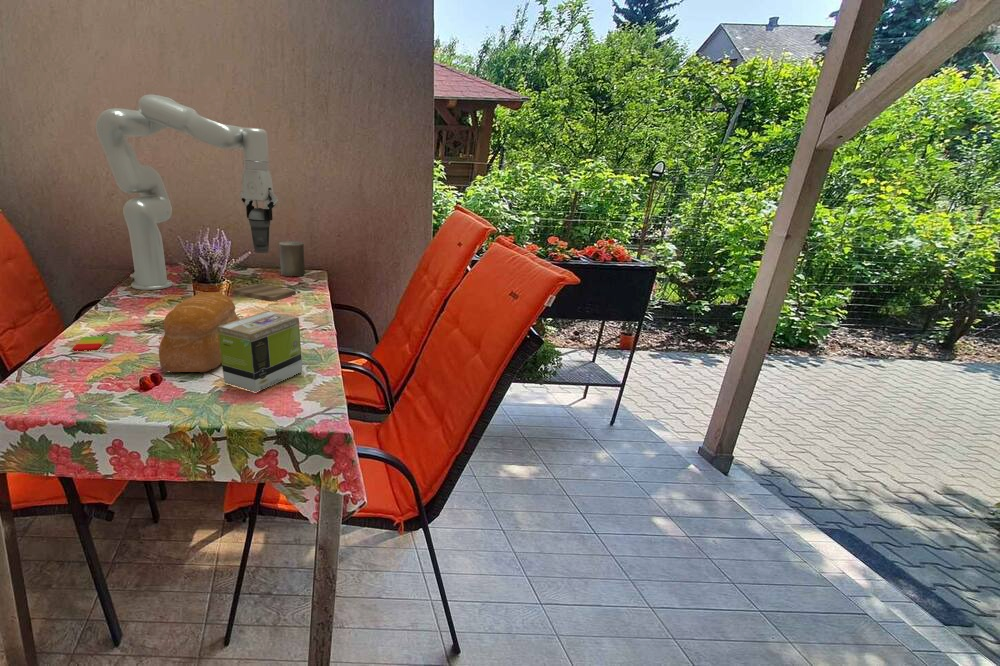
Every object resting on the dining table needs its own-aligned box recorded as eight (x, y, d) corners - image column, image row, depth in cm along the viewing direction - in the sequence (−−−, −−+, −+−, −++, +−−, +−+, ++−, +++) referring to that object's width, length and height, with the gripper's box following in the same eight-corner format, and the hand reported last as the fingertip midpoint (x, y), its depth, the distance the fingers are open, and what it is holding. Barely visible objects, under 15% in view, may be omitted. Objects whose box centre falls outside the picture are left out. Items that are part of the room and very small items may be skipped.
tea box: (272, 364, 135) (268, 309, 130) (303, 373, 132) (301, 316, 127) (222, 385, 122) (216, 324, 117) (255, 395, 118) (251, 332, 114)
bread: (247, 339, 151) (243, 287, 146) (215, 375, 127) (210, 315, 122) (196, 338, 149) (191, 285, 144) (153, 374, 124) (145, 313, 119)
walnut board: (232, 293, 192) (232, 289, 192) (257, 287, 203) (256, 283, 203) (272, 301, 187) (272, 297, 187) (295, 294, 198) (295, 290, 198)
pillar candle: (309, 276, 227) (307, 241, 223) (287, 278, 220) (285, 242, 216) (298, 271, 234) (296, 237, 229) (276, 273, 227) (274, 238, 222)
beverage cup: (262, 254, 186) (258, 196, 180) (245, 251, 188) (241, 194, 182) (277, 251, 193) (274, 195, 186) (260, 249, 195) (257, 193, 189)
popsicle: (71, 356, 131) (70, 349, 131) (90, 336, 144) (89, 329, 144) (98, 354, 133) (97, 347, 133) (114, 335, 146) (113, 329, 146)
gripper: (228, 164, 180) (231, 216, 186) (269, 168, 175) (272, 222, 181) (244, 164, 187) (248, 215, 193) (285, 168, 182) (287, 221, 188)
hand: (259, 218), depth 187 cm, fingers closed on beverage cup, 7 cm apart
